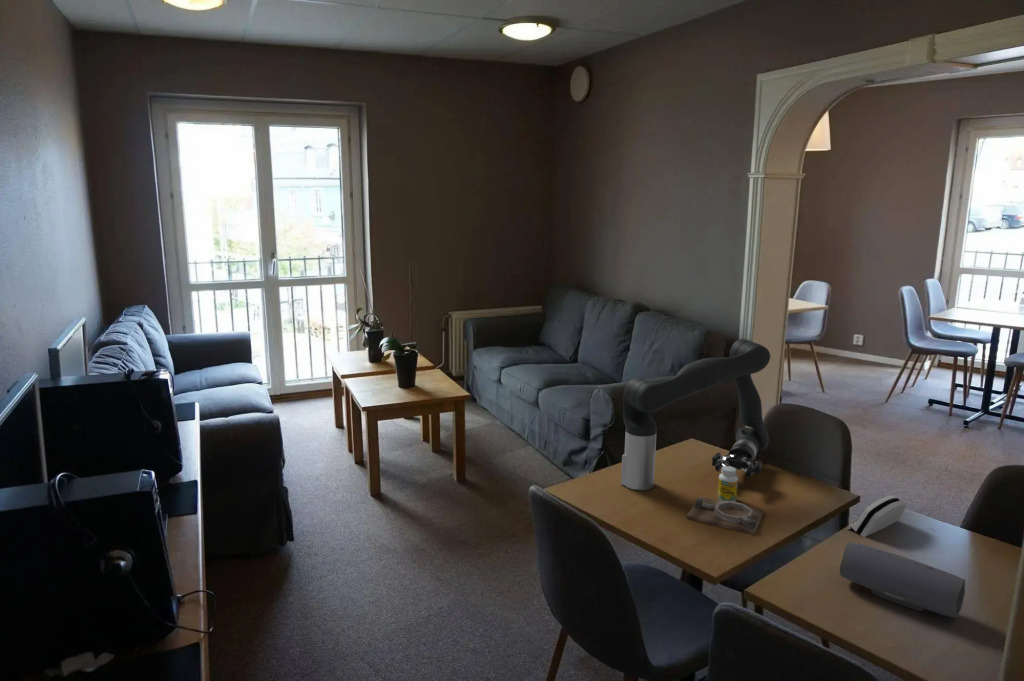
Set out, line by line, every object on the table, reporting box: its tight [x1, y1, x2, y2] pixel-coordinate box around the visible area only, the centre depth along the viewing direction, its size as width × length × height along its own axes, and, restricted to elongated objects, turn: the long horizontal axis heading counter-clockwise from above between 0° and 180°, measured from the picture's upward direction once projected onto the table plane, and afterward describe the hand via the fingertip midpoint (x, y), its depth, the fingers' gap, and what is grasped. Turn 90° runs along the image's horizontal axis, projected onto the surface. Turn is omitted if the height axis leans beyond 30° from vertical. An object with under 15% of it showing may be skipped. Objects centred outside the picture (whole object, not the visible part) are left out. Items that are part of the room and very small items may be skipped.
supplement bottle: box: [717, 466, 739, 502], centre depth 199 cm, size 5×5×10 cm
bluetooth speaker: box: [839, 541, 966, 619], centre depth 150 cm, size 23×9×10 cm, turn 46°
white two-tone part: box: [846, 494, 907, 538], centre depth 183 cm, size 17×5×10 cm, turn 123°
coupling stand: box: [686, 495, 765, 535], centre depth 189 cm, size 18×14×3 cm
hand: (732, 471), depth 204 cm, fingers open, 8 cm apart
